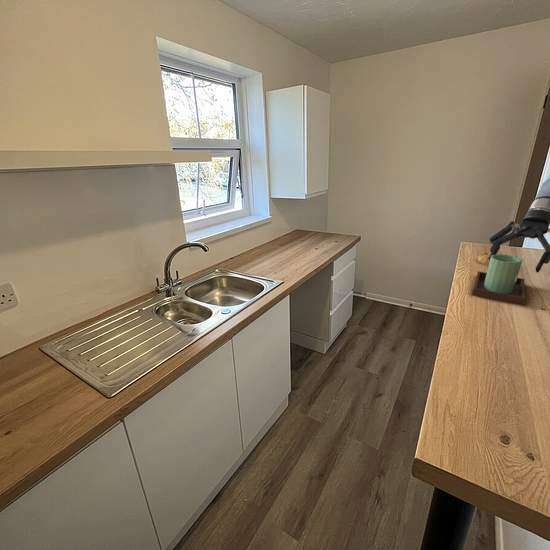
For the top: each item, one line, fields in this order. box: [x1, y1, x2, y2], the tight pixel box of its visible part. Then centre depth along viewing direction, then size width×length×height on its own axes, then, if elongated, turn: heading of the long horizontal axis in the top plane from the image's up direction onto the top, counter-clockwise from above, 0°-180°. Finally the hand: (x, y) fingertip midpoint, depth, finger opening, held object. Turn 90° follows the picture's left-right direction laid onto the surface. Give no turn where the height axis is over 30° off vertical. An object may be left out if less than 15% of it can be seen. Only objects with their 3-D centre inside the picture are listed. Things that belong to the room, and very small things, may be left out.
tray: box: [471, 271, 527, 306], centre depth 102 cm, size 18×14×3 cm
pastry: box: [476, 252, 491, 266], centre depth 124 cm, size 9×7×4 cm
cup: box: [484, 253, 523, 294], centre depth 100 cm, size 8×8×11 cm
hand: (512, 264), depth 103 cm, fingers open, 13 cm apart
